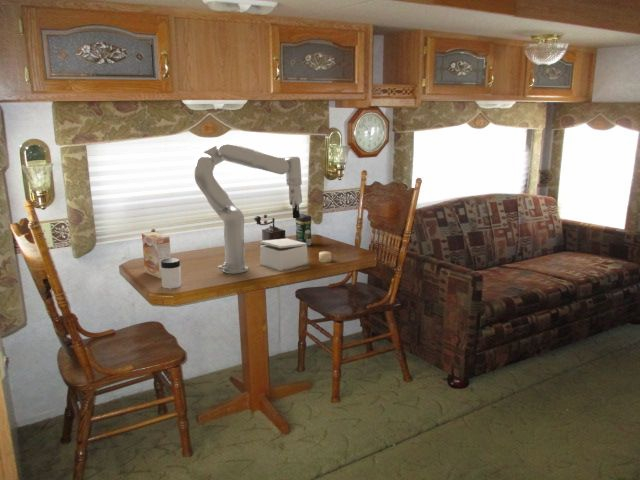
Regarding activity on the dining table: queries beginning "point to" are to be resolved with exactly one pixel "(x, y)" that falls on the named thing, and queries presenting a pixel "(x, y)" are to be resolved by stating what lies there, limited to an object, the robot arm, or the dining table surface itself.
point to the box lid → (284, 243)
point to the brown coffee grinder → (270, 231)
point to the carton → (283, 257)
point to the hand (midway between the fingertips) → (296, 217)
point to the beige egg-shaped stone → (324, 256)
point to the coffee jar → (303, 229)
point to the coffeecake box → (155, 252)
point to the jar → (171, 273)
